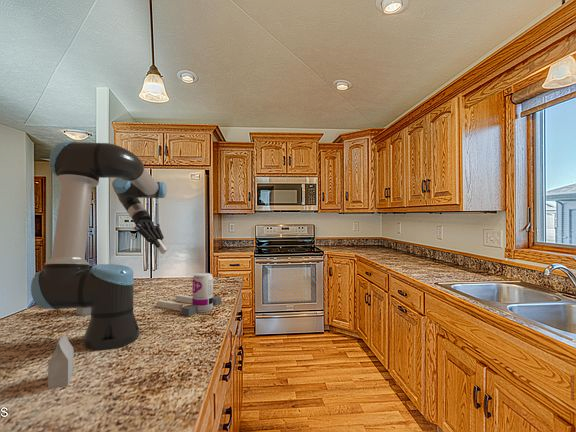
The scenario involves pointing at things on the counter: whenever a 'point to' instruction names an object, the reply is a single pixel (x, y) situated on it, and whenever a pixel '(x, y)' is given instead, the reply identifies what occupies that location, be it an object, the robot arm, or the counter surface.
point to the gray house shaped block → (61, 364)
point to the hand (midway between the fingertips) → (164, 251)
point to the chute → (185, 310)
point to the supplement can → (202, 292)
